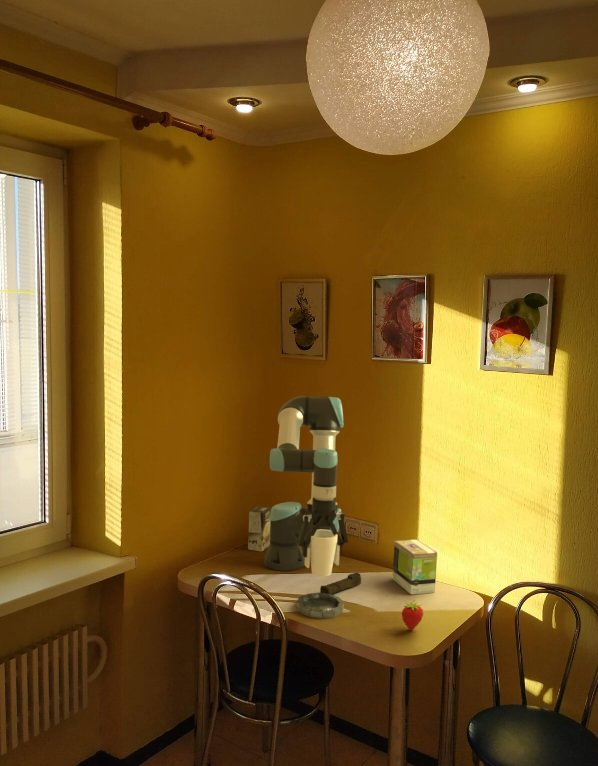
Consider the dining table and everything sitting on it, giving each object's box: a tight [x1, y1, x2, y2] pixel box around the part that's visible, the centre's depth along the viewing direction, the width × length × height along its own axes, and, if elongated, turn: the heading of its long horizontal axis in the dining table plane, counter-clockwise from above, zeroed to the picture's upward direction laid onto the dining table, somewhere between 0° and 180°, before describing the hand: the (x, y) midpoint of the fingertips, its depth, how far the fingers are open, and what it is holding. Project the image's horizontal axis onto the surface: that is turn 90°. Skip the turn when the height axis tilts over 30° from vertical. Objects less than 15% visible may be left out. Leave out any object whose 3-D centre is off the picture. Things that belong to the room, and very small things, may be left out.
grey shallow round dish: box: [296, 592, 345, 620], centre depth 229 cm, size 15×15×2 cm
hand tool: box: [319, 572, 362, 595], centre depth 244 cm, size 19×4×5 cm, turn 131°
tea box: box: [392, 539, 438, 595], centre depth 250 cm, size 15×10×15 cm, turn 18°
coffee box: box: [247, 505, 272, 552], centre depth 285 cm, size 9×6×16 cm
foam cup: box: [308, 529, 338, 577], centre depth 227 cm, size 10×9×13 cm
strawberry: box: [401, 600, 424, 632], centre depth 214 cm, size 6×8×10 cm
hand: (321, 565), depth 227 cm, fingers closed on foam cup, 9 cm apart
